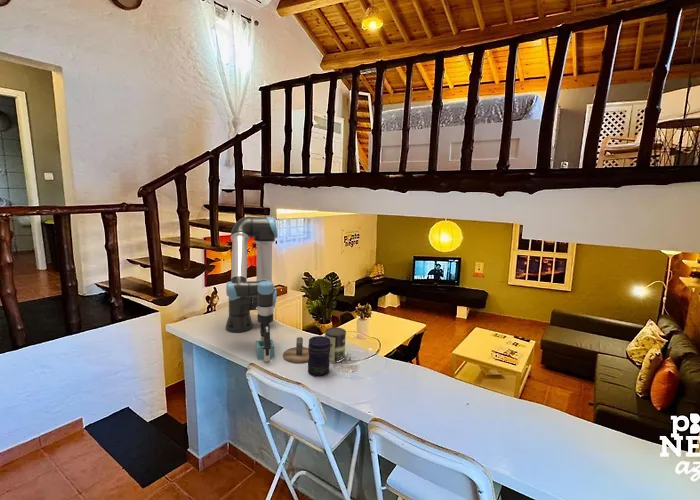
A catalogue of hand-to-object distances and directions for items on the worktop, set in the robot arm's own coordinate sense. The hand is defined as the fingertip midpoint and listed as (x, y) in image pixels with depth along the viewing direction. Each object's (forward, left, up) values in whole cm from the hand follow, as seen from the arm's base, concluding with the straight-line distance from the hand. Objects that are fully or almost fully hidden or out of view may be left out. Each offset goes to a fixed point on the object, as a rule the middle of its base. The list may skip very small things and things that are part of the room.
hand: (265, 354), depth 174 cm
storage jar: (+22, +21, 0) cm, 31 cm away
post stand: (+5, +16, 0) cm, 17 cm away
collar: (0, 0, 0) cm, 0 cm away
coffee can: (+12, +32, 0) cm, 34 cm away
